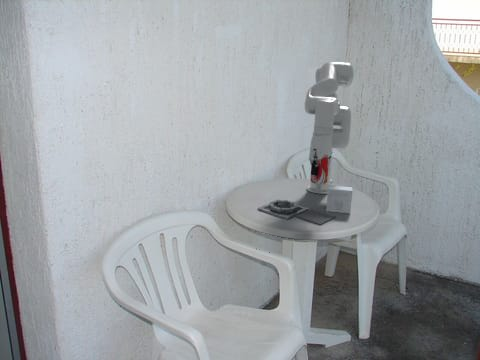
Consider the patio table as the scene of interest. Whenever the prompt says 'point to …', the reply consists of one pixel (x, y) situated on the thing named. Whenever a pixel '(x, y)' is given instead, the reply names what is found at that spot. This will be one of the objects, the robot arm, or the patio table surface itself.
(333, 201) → the skincare box
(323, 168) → the soda can
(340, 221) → the patio table surface
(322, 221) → the mat
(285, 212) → the collar
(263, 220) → the patio table surface
